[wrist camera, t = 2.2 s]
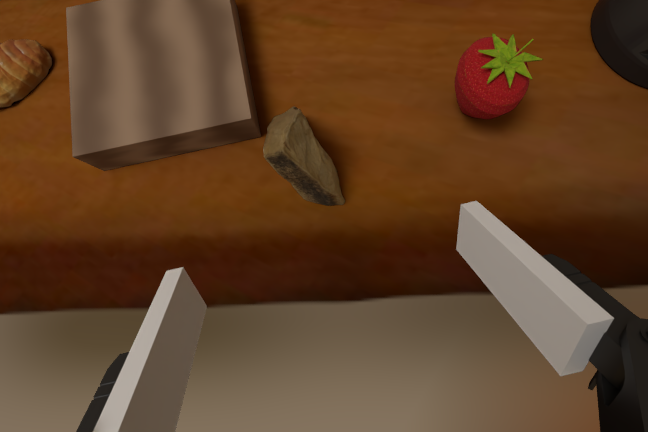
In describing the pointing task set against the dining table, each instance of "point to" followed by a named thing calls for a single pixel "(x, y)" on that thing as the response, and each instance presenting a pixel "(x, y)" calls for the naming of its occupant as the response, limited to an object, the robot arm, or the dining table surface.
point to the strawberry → (492, 77)
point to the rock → (302, 159)
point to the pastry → (21, 69)
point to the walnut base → (156, 79)
